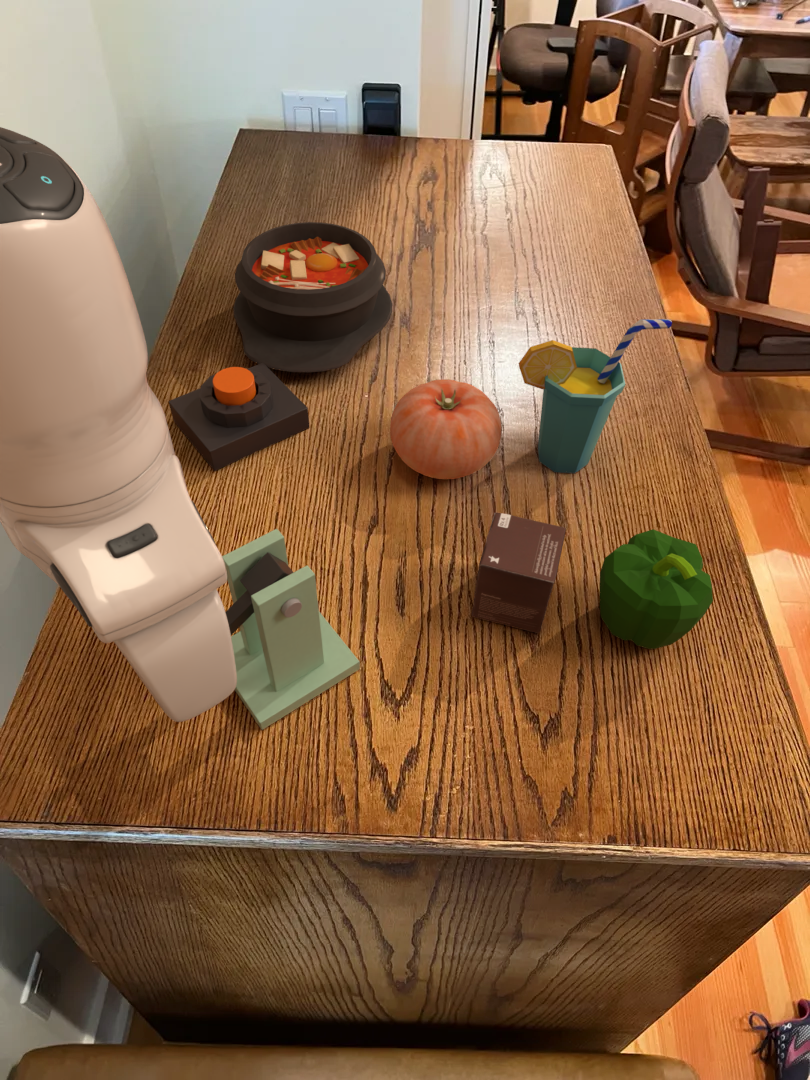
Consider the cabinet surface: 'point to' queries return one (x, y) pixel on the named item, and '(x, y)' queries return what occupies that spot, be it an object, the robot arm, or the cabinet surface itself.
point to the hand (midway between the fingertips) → (147, 632)
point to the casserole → (309, 296)
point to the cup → (576, 395)
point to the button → (234, 386)
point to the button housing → (239, 419)
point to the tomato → (445, 429)
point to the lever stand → (283, 638)
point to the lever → (256, 587)
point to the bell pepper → (653, 589)
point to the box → (517, 571)
